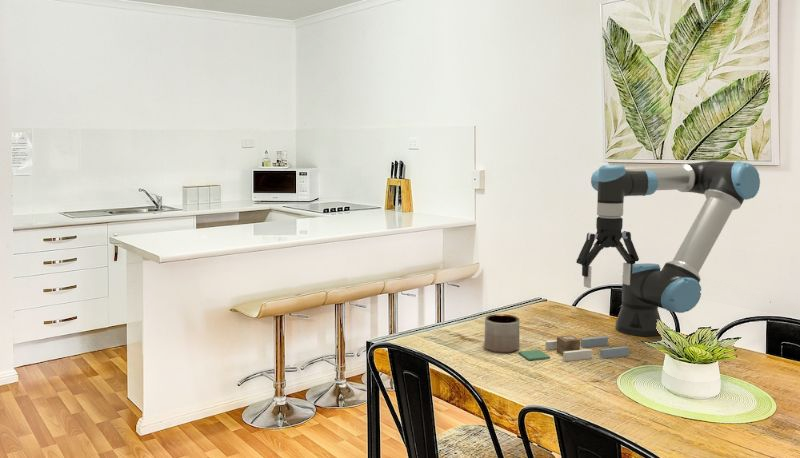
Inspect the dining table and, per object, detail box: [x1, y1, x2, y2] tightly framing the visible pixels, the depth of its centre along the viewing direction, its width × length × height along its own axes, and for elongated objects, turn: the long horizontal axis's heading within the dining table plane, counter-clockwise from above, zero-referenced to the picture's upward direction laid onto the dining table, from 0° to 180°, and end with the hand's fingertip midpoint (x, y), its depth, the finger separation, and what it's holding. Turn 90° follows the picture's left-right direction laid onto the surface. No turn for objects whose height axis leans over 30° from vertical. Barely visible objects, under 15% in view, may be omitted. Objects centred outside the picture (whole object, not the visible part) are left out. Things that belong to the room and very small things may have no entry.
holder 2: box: [580, 336, 630, 360], centre depth 203 cm, size 9×12×3 cm
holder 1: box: [544, 339, 593, 362], centre depth 200 cm, size 9×12×3 cm
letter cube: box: [556, 334, 581, 357], centre depth 200 cm, size 5×5×5 cm
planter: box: [483, 313, 521, 354], centre depth 206 cm, size 11×11×10 cm
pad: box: [517, 349, 551, 362], centre depth 199 cm, size 7×7×1 cm
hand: (606, 285), depth 200 cm, fingers open, 13 cm apart
